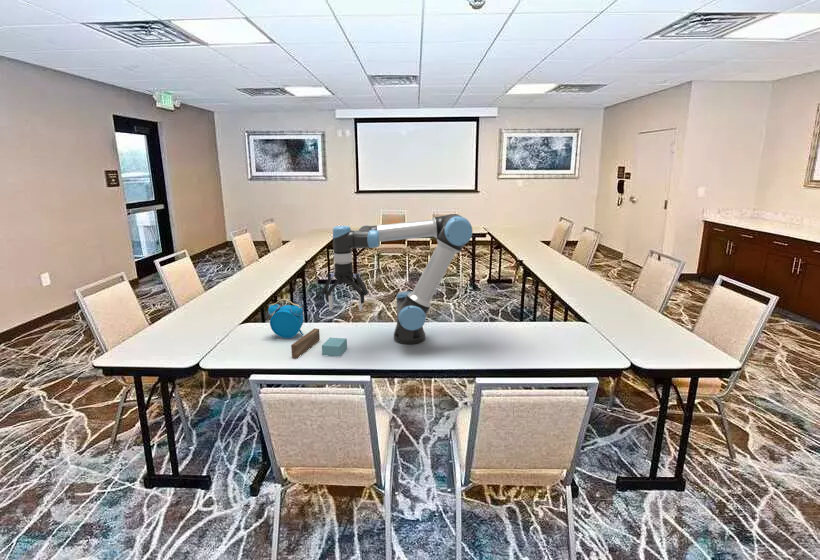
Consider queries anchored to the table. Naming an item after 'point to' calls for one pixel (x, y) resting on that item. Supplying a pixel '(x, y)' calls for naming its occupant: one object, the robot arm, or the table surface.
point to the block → (334, 346)
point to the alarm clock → (286, 319)
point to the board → (305, 343)
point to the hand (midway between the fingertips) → (346, 309)
